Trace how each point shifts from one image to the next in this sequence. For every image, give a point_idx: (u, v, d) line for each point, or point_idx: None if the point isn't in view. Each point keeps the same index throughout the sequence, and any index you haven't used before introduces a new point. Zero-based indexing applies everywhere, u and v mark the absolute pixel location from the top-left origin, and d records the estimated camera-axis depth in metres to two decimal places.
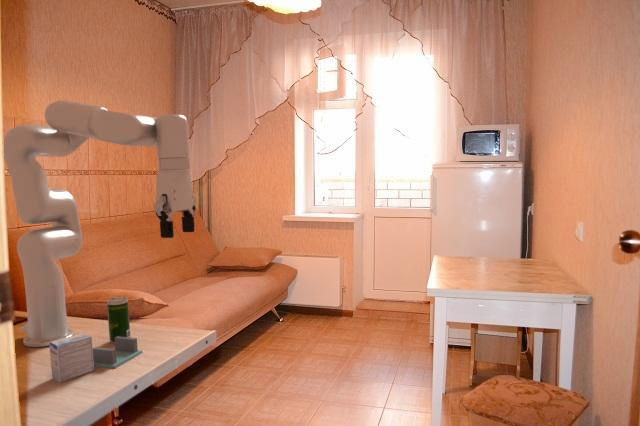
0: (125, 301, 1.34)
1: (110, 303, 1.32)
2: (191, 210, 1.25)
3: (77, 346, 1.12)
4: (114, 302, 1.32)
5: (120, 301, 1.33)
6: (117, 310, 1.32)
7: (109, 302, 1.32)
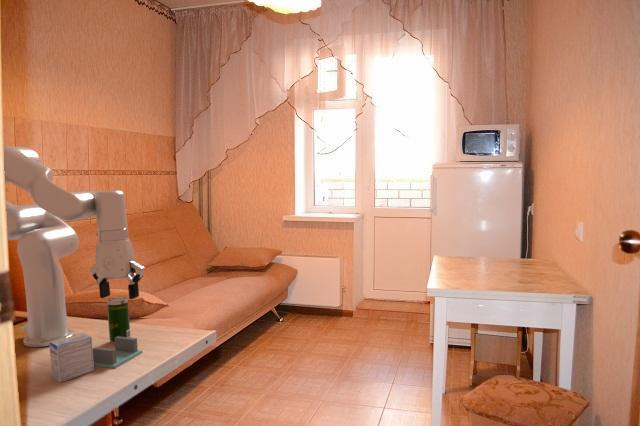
0: (125, 301, 1.34)
1: (110, 303, 1.32)
2: None
3: (77, 346, 1.12)
4: (114, 302, 1.32)
5: (120, 301, 1.33)
6: (117, 310, 1.32)
7: (109, 302, 1.32)
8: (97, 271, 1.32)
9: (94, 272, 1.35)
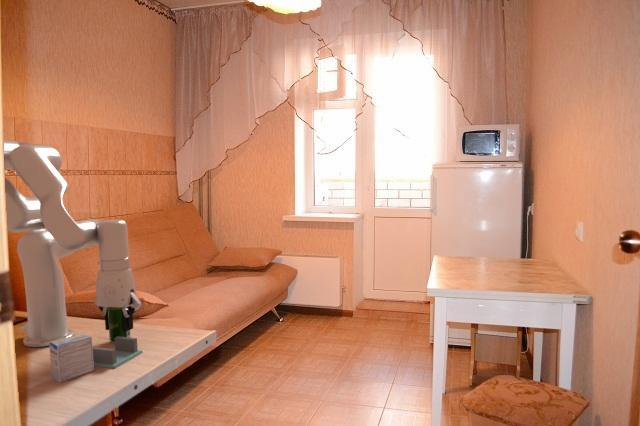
0: None
1: None
2: None
3: (77, 346, 1.12)
4: None
5: None
6: (117, 310, 1.32)
7: None
8: (98, 300, 1.33)
9: None
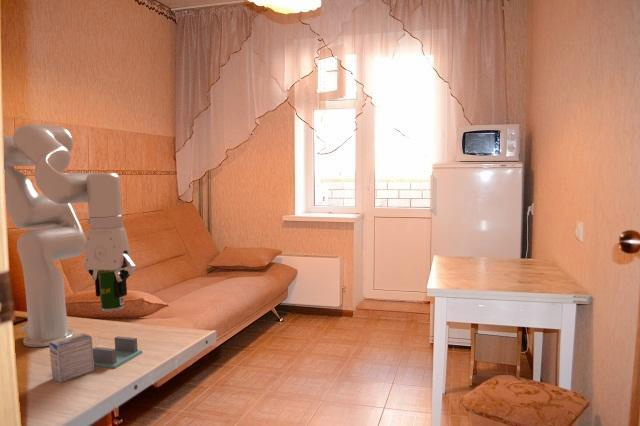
0: None
1: None
2: None
3: (77, 346, 1.12)
4: None
5: None
6: (109, 274, 1.18)
7: None
8: (87, 262, 1.19)
9: None
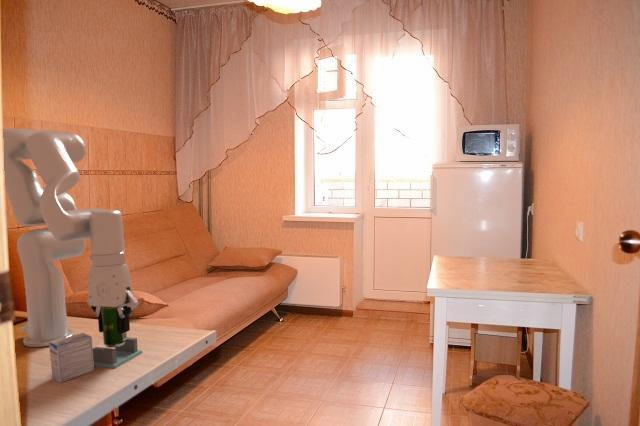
0: None
1: None
2: None
3: (77, 346, 1.12)
4: None
5: None
6: (112, 310, 1.19)
7: None
8: (90, 299, 1.20)
9: None
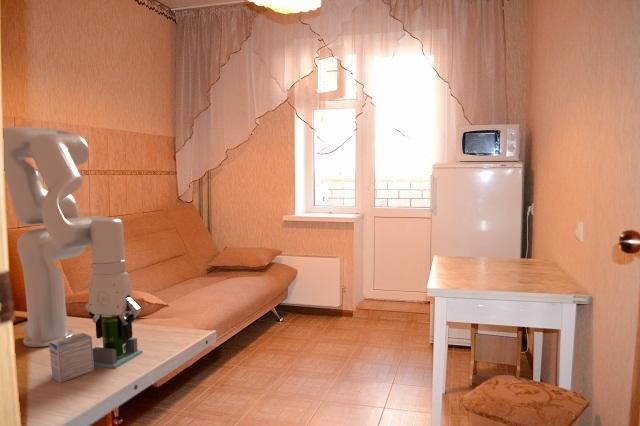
0: None
1: (104, 315, 1.19)
2: None
3: (77, 346, 1.12)
4: None
5: None
6: (112, 323, 1.19)
7: None
8: (90, 306, 1.20)
9: (90, 309, 1.23)
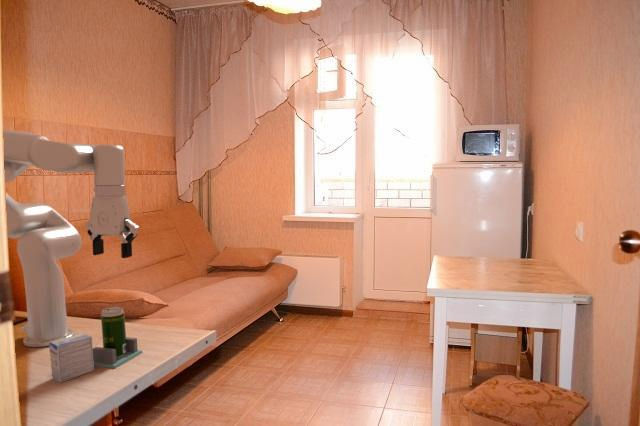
0: (121, 312, 1.21)
1: (104, 315, 1.19)
2: None
3: (77, 346, 1.12)
4: (109, 313, 1.19)
5: (115, 312, 1.20)
6: (112, 323, 1.19)
7: (103, 313, 1.20)
8: (91, 227, 1.29)
9: (89, 228, 1.32)
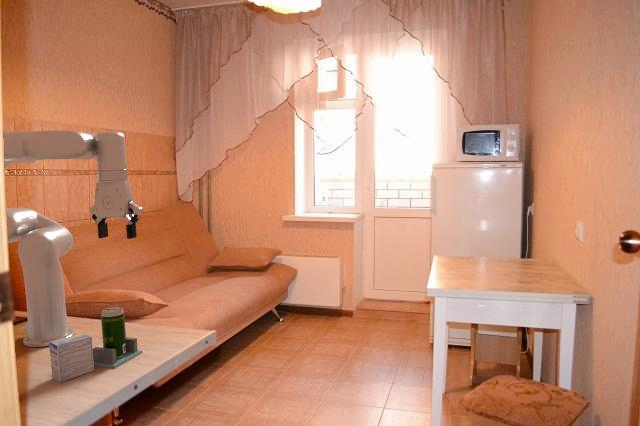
0: (121, 312, 1.21)
1: (104, 315, 1.19)
2: None
3: (77, 346, 1.12)
4: (109, 313, 1.19)
5: (115, 312, 1.20)
6: (112, 323, 1.19)
7: (103, 313, 1.20)
8: (96, 211, 1.35)
9: (93, 213, 1.38)
